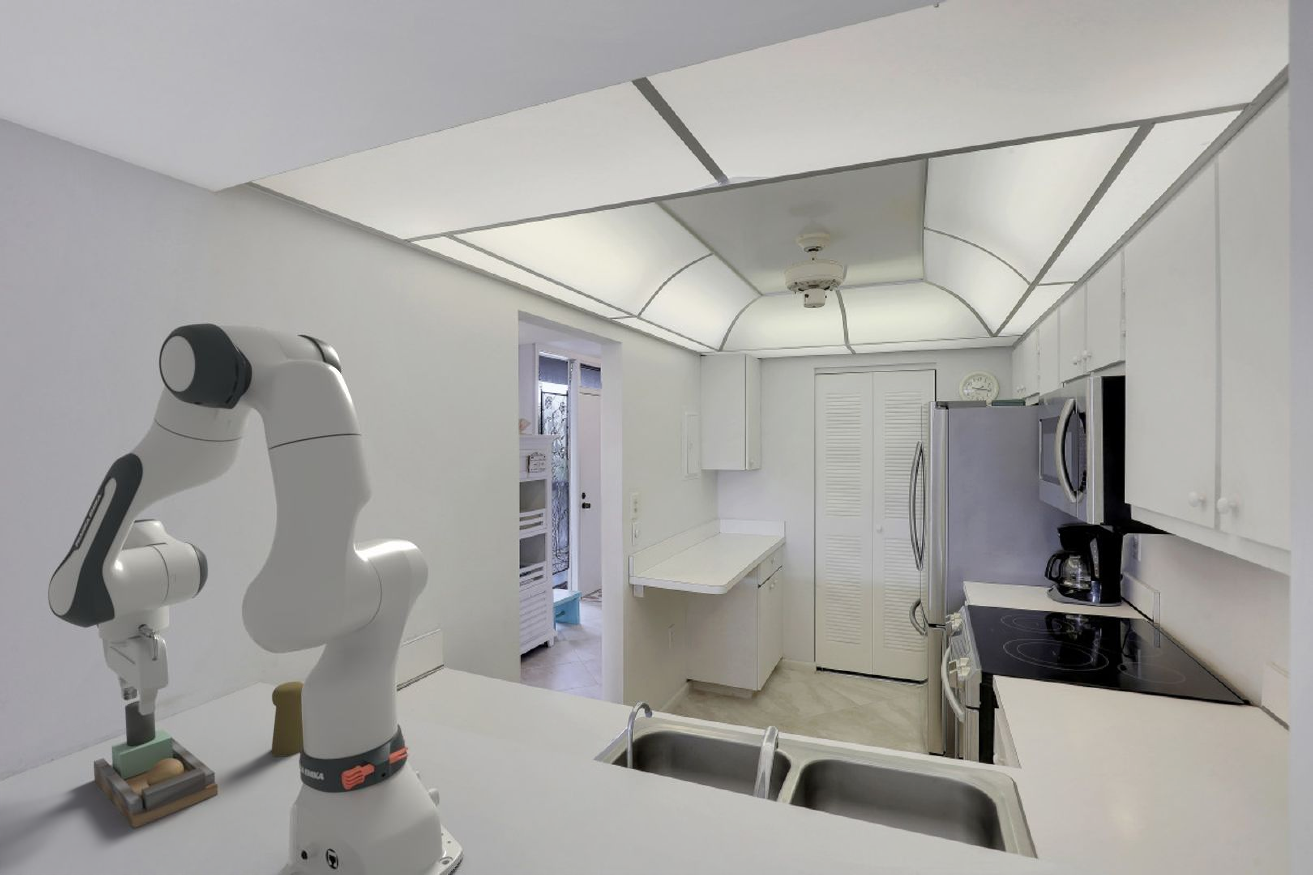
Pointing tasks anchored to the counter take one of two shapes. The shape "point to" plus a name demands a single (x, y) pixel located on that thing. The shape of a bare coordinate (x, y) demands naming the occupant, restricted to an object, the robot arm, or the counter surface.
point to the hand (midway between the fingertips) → (137, 705)
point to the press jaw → (140, 744)
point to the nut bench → (159, 812)
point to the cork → (287, 719)
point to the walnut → (164, 771)
